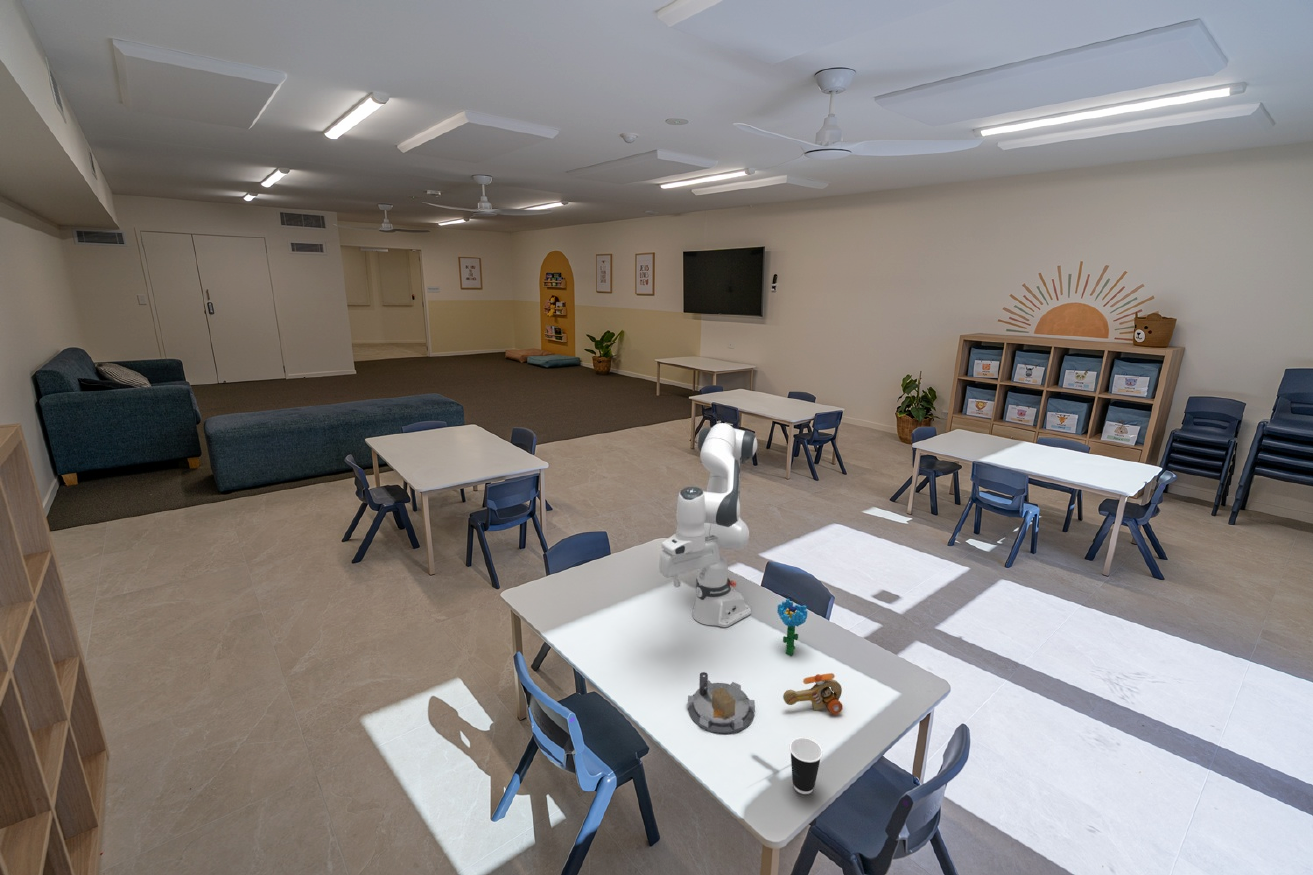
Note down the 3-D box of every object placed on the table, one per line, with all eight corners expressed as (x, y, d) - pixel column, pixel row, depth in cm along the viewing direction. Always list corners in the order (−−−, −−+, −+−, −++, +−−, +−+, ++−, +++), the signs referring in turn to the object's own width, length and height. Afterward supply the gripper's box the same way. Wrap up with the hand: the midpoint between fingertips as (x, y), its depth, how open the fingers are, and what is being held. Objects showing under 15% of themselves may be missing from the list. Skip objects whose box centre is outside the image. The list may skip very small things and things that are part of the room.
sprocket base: (726, 681, 180) (727, 678, 180) (767, 718, 164) (767, 715, 164) (675, 702, 171) (675, 699, 171) (713, 743, 155) (713, 740, 155)
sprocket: (689, 684, 177) (689, 661, 175) (752, 688, 175) (753, 665, 173) (686, 726, 160) (686, 701, 158) (756, 731, 158) (757, 706, 156)
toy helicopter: (845, 713, 167) (848, 678, 164) (787, 721, 163) (790, 685, 161) (833, 697, 173) (836, 663, 170) (778, 705, 170) (780, 670, 167)
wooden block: (734, 714, 160) (735, 699, 159) (724, 719, 159) (725, 703, 157) (721, 702, 165) (722, 687, 164) (711, 706, 164) (712, 691, 162)
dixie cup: (781, 786, 141) (783, 749, 139) (796, 768, 147) (799, 732, 144) (810, 805, 136) (813, 766, 134) (825, 785, 142) (828, 748, 139)
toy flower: (784, 642, 201) (787, 595, 197) (808, 653, 195) (811, 604, 191) (770, 654, 194) (773, 605, 190) (794, 665, 189) (798, 615, 184)
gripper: (712, 530, 183) (711, 570, 186) (656, 543, 173) (656, 586, 176) (724, 537, 177) (723, 578, 181) (667, 551, 167) (667, 595, 170)
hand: (689, 582), depth 178 cm, fingers open, 8 cm apart
